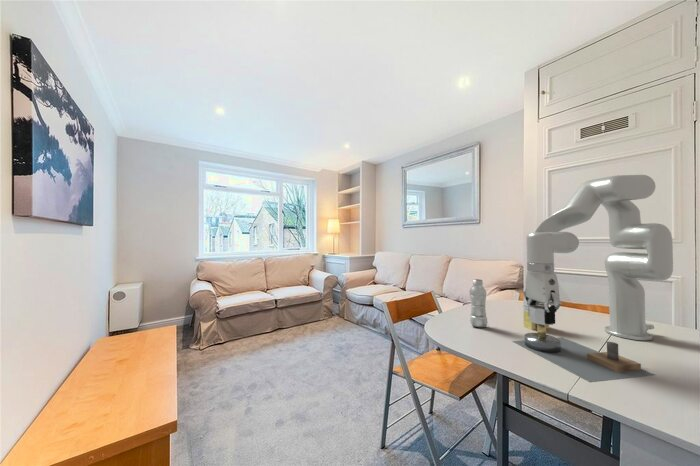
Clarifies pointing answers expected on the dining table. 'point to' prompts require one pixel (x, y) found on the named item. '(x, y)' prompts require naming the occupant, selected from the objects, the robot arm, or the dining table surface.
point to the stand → (613, 359)
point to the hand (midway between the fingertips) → (541, 319)
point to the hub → (542, 341)
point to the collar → (537, 314)
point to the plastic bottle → (478, 304)
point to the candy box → (527, 322)
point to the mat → (583, 362)
